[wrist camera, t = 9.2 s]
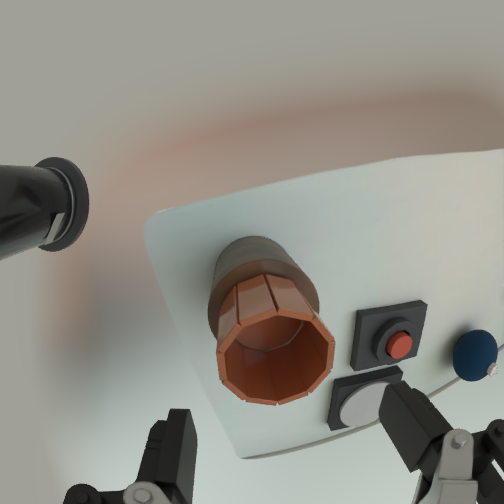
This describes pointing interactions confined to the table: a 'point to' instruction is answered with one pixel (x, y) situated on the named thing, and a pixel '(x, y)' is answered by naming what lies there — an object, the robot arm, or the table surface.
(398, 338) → the button
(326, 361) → the orange wooden cup
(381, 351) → the red push button box
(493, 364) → the christmas ornament
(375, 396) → the scale
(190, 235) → the table surface
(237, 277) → the stand
